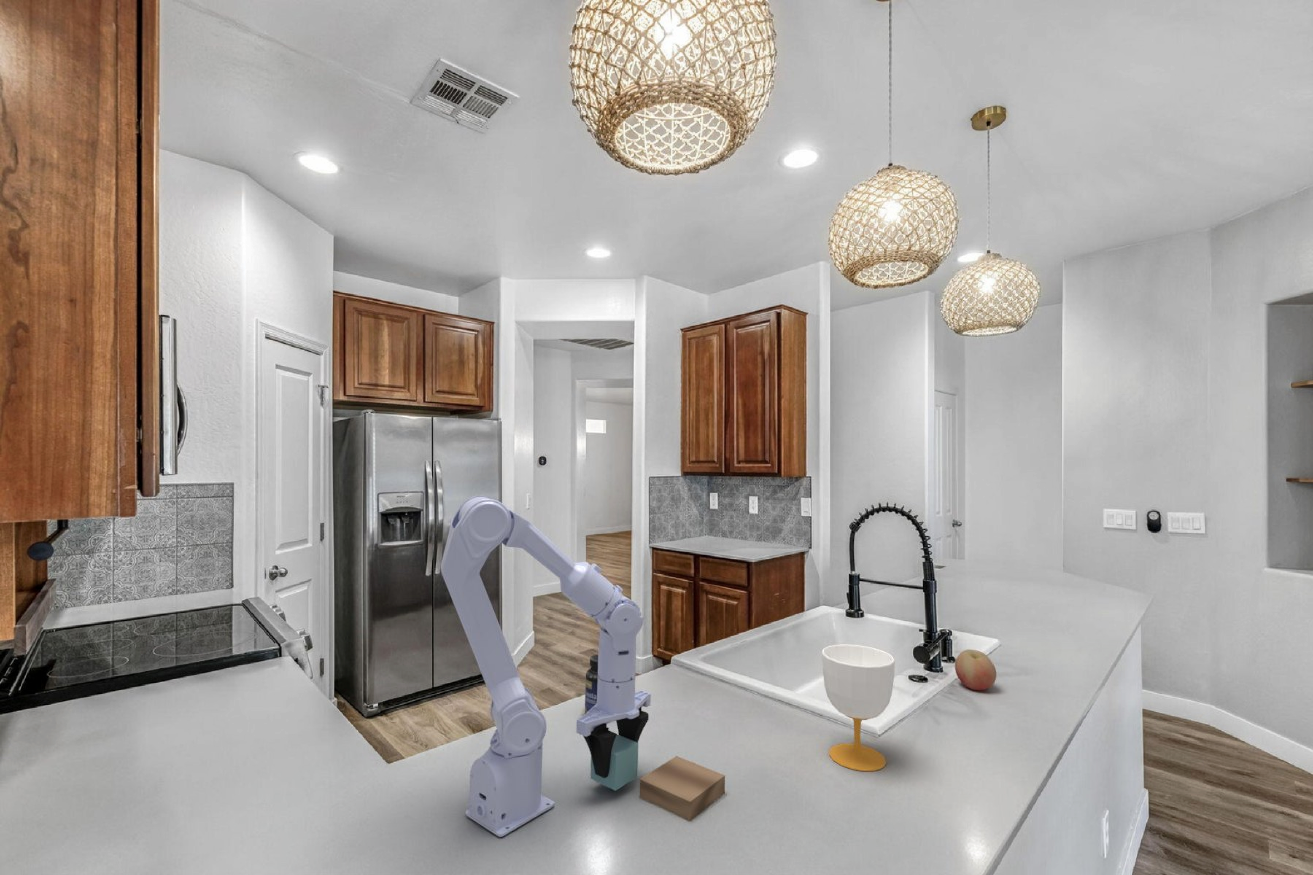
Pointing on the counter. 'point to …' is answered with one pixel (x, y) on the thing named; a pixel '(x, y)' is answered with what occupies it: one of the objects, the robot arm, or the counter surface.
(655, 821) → the counter surface
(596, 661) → the pill bottle
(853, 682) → the cup
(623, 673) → the robot arm
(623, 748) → the teal cube
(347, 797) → the counter surface
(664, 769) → the walnut block
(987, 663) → the fruit
